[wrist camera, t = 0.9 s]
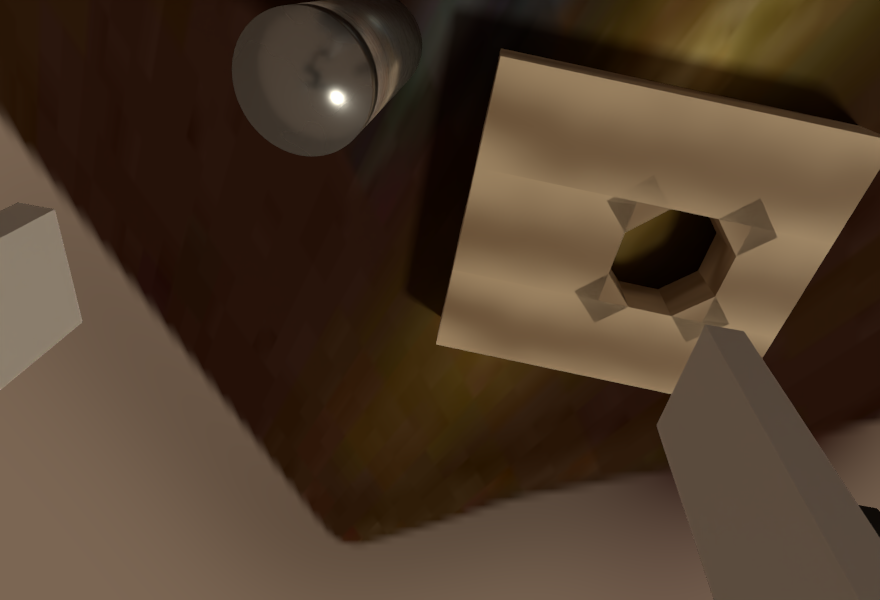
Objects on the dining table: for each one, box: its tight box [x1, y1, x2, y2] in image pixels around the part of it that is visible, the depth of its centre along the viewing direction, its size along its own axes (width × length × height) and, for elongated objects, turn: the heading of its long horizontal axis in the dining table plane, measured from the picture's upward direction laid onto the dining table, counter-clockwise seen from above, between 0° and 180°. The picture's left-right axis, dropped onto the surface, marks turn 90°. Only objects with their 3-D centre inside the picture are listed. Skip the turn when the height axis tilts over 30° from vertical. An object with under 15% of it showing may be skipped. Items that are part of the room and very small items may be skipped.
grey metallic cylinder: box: [232, 0, 422, 156], centre depth 22 cm, size 4×4×12 cm
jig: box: [436, 48, 880, 394], centre depth 30 cm, size 16×18×3 cm
